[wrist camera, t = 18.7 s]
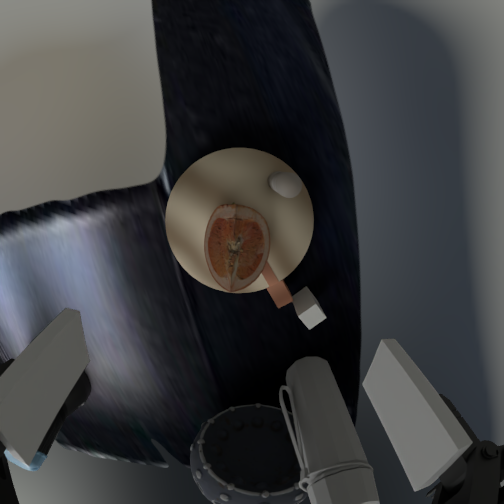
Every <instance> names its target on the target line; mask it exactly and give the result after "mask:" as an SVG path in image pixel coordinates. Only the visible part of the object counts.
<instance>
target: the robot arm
mask: <svg viewBox="0 0 504 504" xmlns="http://www.w3.org/2000/svg"><path fill="white" fill-rule="evenodd" d="M89 362H90V359H89V355H88V351H87V346H86V342H85V337H84V332H83V327H82V322H81V316H80V311H77V310H73V309H69V308H65V309H64V310H63V311H62V312H61V313H60V314H59V315H58V316H57V317H56V318H55V319H54V320H53V321H52V322H51V323H50V324H49V325H48V326H47V327H46V328H45V329H44V330H43V331H42V332H41V333H40V334H39V335H38V336H37V337H36V338H35V339H34V340H33V341H32V342H31V343H30V344H29V345H28V346H27V348H26V349H25V350H24V351H23V352H22V353H21V354H20V355H19V356H18V357H17V358H16V359H10V360H8V361H7V362H4V361H3V359H2V358H1V356H0V504H19V501H18V498H17V495H16V492H15V489H14V485H13V482H12V478H11V474H10V470H9V466H8V462H7V459H8V460H9V461H11V462H13V463H14V464H16V465H18V466H19V467H21V468H24V469H26V470H29V471H36V470H38V469H39V468H40V466H41V465H42V463H43V462H44V460H45V459H46V458H47V454H48V452H49V450H50V448H51V446H52V444H53V442H54V440H55V438H56V436H57V434H58V432H59V430H60V428H61V426H62V425H63V423H64V421H65V419H66V417H68V416H69V415H70V414H71V413H73V412H74V411H75V410H76V409H78V408H79V407H80V406H82V405H83V404H84V403H85V402H86V400H87V399H88V397H89V395H90V392H91V387H90V383H89V380H88V378H87V376H86V374H85V372H84V369H85V368H86V366H87V365H88V363H89ZM362 385H363V387H364V389H365V391H366V393H367V395H368V397H369V399H370V400H371V402H372V405H373V406H374V408H375V410H376V412H377V414H378V416H379V418H380V420H381V422H382V424H383V426H384V428H385V430H386V432H387V434H388V436H389V438H390V441H391V442H392V445H393V447H394V449H395V451H396V453H397V455H398V457H399V459H400V461H401V463H402V466H403V468H404V470H405V472H406V474H407V476H408V478H409V481H410V483H411V485H412V487H413V489H414V491H418V490H420V489H423V488H425V487H427V486H429V485H431V484H432V483H433V482H434V481H435V480H436V479H438V478H440V480H441V482H440V483H439V484H438V485H436V486H435V487H434V488H433V489H432V490H430V491H429V492H428V493H427V495H426V497H429V496H430V495H431V494H432V493H434V491H435V494H434V495H433V496H432V497H431V498H433V501H432V504H504V486H503V487H501V485H500V482H502V481H503V480H504V445H502V446H497V445H496V444H494V443H493V442H491V441H486V440H484V441H482V442H480V441H479V439H477V437H476V435H475V434H474V432H473V431H472V430H471V429H470V427H469V425H468V424H467V423H466V421H465V420H464V419H463V417H461V414H460V413H459V412H458V411H456V408H455V407H454V405H453V404H452V402H451V401H450V400H449V399H447V398H446V397H445V396H443V395H442V394H438V393H437V392H436V390H435V389H434V388H433V386H432V385H431V384H430V382H429V381H428V380H427V379H426V377H425V376H424V375H423V373H422V372H421V371H420V370H419V368H418V367H417V366H416V364H415V363H414V362H413V361H412V359H411V358H410V357H409V356H408V355H407V353H406V352H405V351H404V349H403V348H402V347H401V346H400V345H399V343H398V342H397V341H396V340H395V339H382V340H381V342H380V345H379V347H378V349H377V352H376V354H375V357H374V359H373V361H372V364H371V366H370V368H369V371H368V373H367V375H366V377H365V379H364V382H363V384H362Z"/></svg>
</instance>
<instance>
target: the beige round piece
mask: <svg viewBox="0 0 504 504" xmlns="http://www.w3.org/2000/svg"><path fill="white" fill-rule="evenodd" d="M233 202H234V203H235V204H238V205H244V206H247V207H250V208H253V209H255V210H256V211H257V212H259V213H260V214H261V215H262V216H263V217H264V218H265V220H266V221H267V224H268V227H269V232H270V252H269V257H268V260H267V263H266V265H265V267H264V270H263V271H262V273H261V274H260V276H259V277H258V278H257V279H256V280H255V281H254V282H253V283H252V284H251V285H250V286H248V287H246V288H244V289H242V290H238V291H236V292H231V293H248V292H255V291H259V290H262V289H265V288H267V290H268V292H269V293H270V295H271V297H272V298H273V300H274V302H275V303H276V305H277V307H278V308H280V307H282V306H284V305H286V304H288V303H290V302H292V301H293V298H292V295H291V293H290V291H289V289H288V287H287V285H286V283H285V282H284V280H283V279H284V278H285V277H287V276H288V275H289V274H290V273H291V272H292V271H293V270H294V269H295V268H296V267H297V265H298V264H299V263H300V262H301V260H302V259H303V257H304V255H305V253H306V251H307V249H308V247H309V244H310V241H311V238H312V233H313V224H314V216H313V208H312V203H311V199H310V197H309V194H308V191H307V189H306V187H305V185H304V184H303V182H302V180H301V179H300V178H299V176H298V175H297V174H296V173H295V172H294V171H293V170H292V169H291V168H290V167H289V166H288V165H287V164H286V163H284V162H283V161H282V160H280V159H278V158H277V157H275V156H273V155H271V154H268V153H266V152H263V151H260V150H256V149H250V148H230V149H223V150H220V151H216V152H213V153H211V154H209V155H206V156H204V157H203V158H201V159H199V160H198V161H196V162H195V163H194V164H192V165H191V166H190V167H189V168H188V169H187V170H186V171H185V172H184V173H183V174H182V175H181V177H180V178H179V180H178V181H177V182H176V184H175V186H174V188H173V190H172V192H171V194H170V197H169V200H168V204H167V209H166V220H165V222H166V232H167V237H168V241H169V244H170V247H171V249H172V251H173V253H174V255H175V257H176V259H177V260H178V261H179V263H180V264H181V266H182V267H183V268H184V269H185V270H186V271H187V272H188V273H189V274H190V275H191V276H192V277H194V278H195V279H197V280H198V281H199V282H201V283H203V284H205V285H207V286H209V287H211V288H214V289H217V290H220V291H225V292H229V291H227V290H225V289H223V288H222V287H221V286H220V285H219V284H218V283H217V282H216V281H215V280H214V278H213V277H212V275H211V273H210V271H209V268H208V265H207V262H206V258H205V252H204V239H205V232H206V228H207V224H208V221H209V219H210V217H211V215H212V213H213V212H214V210H215V209H216V208H217V207H218V206H219V205H223V204H228V205H229V204H232V203H233Z"/></svg>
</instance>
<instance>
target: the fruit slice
mask: <svg viewBox="0 0 504 504" xmlns="http://www.w3.org/2000/svg"><path fill="white" fill-rule="evenodd" d="M204 252H205V258H206V262H207V265H208V268H209V271H210V273H211V275H212V277H213V278H214V280H215V281H216V282H217V283H218V284H219V285H220V286H221V287H222V288H223V289H225V290H227V291H229V292H236V291H238V290H242V289H244V288H246V287H248V286H250V285H251V284H252V283H253V282H254V281H255V280H256V279H257V278H258V277H259V276H260V274H261V273H262V271H263V270H264V267H265V265H266V263H267V260H268V257H269V252H270V232H269V227H268V224H267V221H266V220H265V218H264V217H263V216H262V215H261V214H260V213H259V212H257V211H256V210H255V209H253V208H250V207H247V206H244V205H238V204H235V203H234V202H233V203H232V204H229V205H228V204H223V205H219V206H218V207H217V208H216V209H215V210H214V212H213V213H212V215H211V217H210V219H209V221H208V224H207V228H206V232H205V239H204Z"/></svg>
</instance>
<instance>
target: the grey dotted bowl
mask: <svg viewBox="0 0 504 504" xmlns="http://www.w3.org/2000/svg"><path fill="white" fill-rule="evenodd" d="M286 410H287V409H286ZM287 413H288V416H289V420H290V423H291V426H292V429H293V432H294V435H295V439H296V442H297V436H296V430H295V424H294V419H293V413H291V412H289V411H287ZM297 445H298V442H297ZM190 450H191V457H190V464H191V471H192V474H193V477H194V480H195V482H196V484H197V485H198V487H199V489H200V490H201V492H202V493H203V494H204V495H205V497H206V498H207V499H209V500H210V501H211V502H212V503H213V504H298V503H300V502H301V501H303V500H304V499H305V498H306V497H307V496H308V492H305V491H304V490H302V489H301V488H300V487H299V481H300V474H301V467H300V464H299V461H298V458H297V455H296V452H295V449H294V446H293V442H292V439H291V436H290V433H289V430H288V427H287V424H286V420H285V417H284V414H283V411H282V409H280V408H277V407H273V406H267V405H261V404H260V403H257V404H252V405H242V406H236V407H229V409H226V410H225V411H223V412H220V413H219V414H217V415H216V416H214V417H213V418H212V419H209V420H208V421H207V422H204V423H203V424H202V425H201V430H200V431H199V433H198V434H197V436H196V438H195V441H194V443H193V444H192V445H191V448H190ZM302 485H303V487H304V488H306V489H307V487H308V485H309V484H308V483H307V482H303V483H302Z"/></svg>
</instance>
